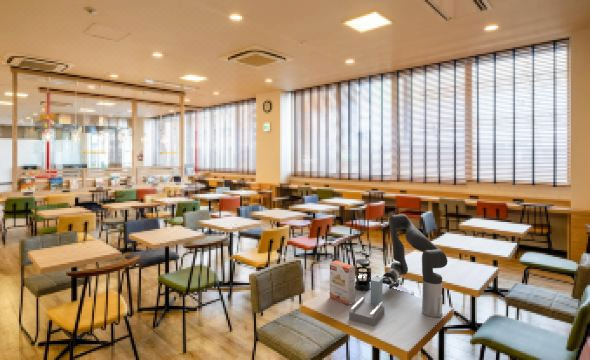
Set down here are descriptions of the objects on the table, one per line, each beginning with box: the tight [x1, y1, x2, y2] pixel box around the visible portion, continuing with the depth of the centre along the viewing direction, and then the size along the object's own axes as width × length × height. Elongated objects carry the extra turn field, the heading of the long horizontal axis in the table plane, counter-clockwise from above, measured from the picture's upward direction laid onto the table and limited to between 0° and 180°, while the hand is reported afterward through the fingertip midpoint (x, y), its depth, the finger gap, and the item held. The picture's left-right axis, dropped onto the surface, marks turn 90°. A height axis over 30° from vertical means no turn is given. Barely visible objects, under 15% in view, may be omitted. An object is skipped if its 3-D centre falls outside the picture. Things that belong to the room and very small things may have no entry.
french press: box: [355, 250, 372, 292], centre depth 212 cm, size 12×9×23 cm
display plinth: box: [348, 297, 385, 327], centre depth 177 cm, size 13×15×6 cm
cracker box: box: [329, 260, 356, 306], centre depth 196 cm, size 14×6×21 cm, turn 42°
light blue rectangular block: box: [369, 276, 383, 305], centre depth 189 cm, size 4×6×15 cm
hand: (382, 285), depth 196 cm, fingers open, 8 cm apart
